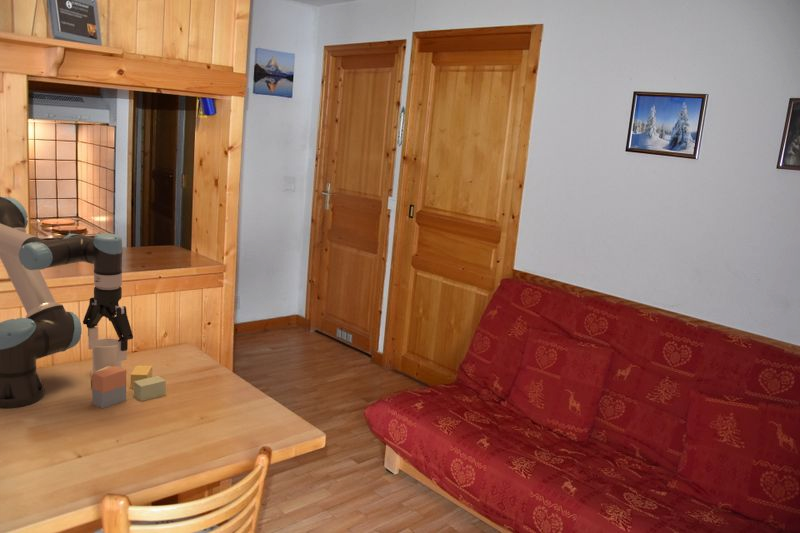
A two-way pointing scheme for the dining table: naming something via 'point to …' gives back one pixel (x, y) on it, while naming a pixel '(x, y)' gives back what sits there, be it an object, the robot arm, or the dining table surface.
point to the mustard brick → (140, 373)
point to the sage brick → (149, 388)
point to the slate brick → (108, 397)
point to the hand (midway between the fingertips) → (107, 354)
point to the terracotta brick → (109, 379)
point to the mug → (105, 354)
